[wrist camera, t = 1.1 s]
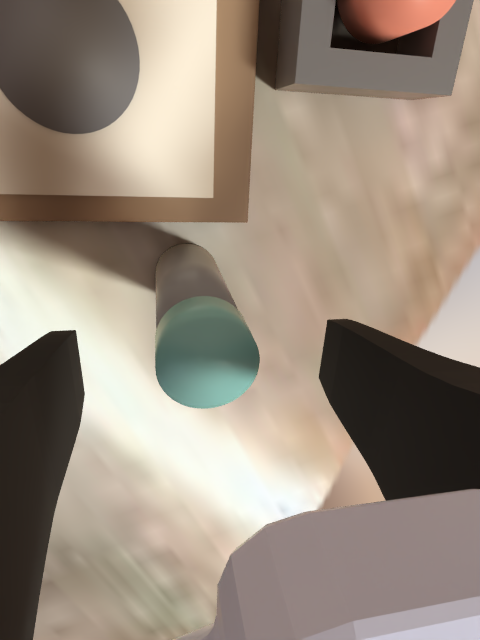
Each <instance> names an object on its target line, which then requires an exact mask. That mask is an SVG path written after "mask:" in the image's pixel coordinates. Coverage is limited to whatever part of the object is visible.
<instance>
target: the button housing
mask: <svg viewBox="0 0 480 640" xmlns="http://www.w3.org/2000/svg"><path fill="white" fill-rule="evenodd" d="M335 2H336V0H281V13H280V27H279V41H278V54H277V68H276V82H275V90H284V91H298V92H311V93H325V94H338V95H352V96H366V97H379V98H393V99H406V100H416V99H425V98H434V97H443V96H451V95H452V90H453V86H454V82H455V78H456V73H457V69H458V65H459V60H460V56H461V52H462V48H463V43H464V39H465V35H466V30H467V26H468V22H469V18H470V13H471V9H472V5H473V0H456V1H455V3H454V4H453V6H452V7H451V8H450V10H449V11H448V12H447V13H446V14H445V15H444V16H443V17H442V18H441V19H439V20H438V21H436V22H435V23H433V24H431V25H429V26H427V27H425V28H422V29H419V30H416V31H414V32H411V33H408V34H406V35H403V36H400V37H399V41H398V47H397V53H396V54H390V53H380V52H369V51H359V50H349V49H339V48H330V45H331V36H332V28H333V19H334V11H335Z"/></svg>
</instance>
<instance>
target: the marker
mask: <svg viewBox="0 0 480 640" xmlns="http://www.w3.org/2000/svg"><path fill="white" fill-rule="evenodd" d="M155 281H156V327H157V330H156V335H155V368H156V376H157V379H158V382H159V384H160V386H161V388H162V389H163V391H164V392H165V393H166V394H167V395H168V396H169V397H170V398H172V399H173V400H175V401H176V402H178V403H180V404H182V405H185V406H188V407H193V408H214V407H218V406H222V405H225V404H227V403H229V402H231V401H233V400H235V399H237V398H238V397H239V396H241V395H242V394H243V393H244V392H245V391H246V390H247V389H248V388H249V387H250V386H251V384H252V383H253V381H254V379H255V377H256V375H257V372H258V369H259V363H260V357H259V351H258V347H257V345H256V343H255V341H254V338H253V336H252V334H251V332H250V330H249V328H248V326H247V324H246V322H245V320H244V318H243V316H242V314H241V313H240V312H239V311H238V309H237V307H236V305H235V302H234V300H233V298H232V296H231V294H230V292H229V290H228V288H227V286H226V283H225V281H224V279H223V277H222V275H221V273H220V271H219V269H218V267H217V264H216V262H215V260H214V258H213V257H212V255H211V254H210V253H209V252H208V251H207V250H205V249H204V248H202V247H200V246H198V245H195V244H187V243H186V244H179V245H176V246H173V247H171V248H169V249H168V250H167V251H165V252H164V253H163V254H162V256H161V257H160V259H159V260H158V262H157V265H156V270H155Z"/></svg>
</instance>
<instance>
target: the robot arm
mask: <svg viewBox="0 0 480 640" xmlns="http://www.w3.org/2000/svg"><path fill="white" fill-rule="evenodd" d="M319 379H320V381H321V384H322V386H323V389H324V391H325V394H326V396H327V398H328V400H329V403H330V405H331V406H332V408H333V410H334V411H335V413H336V415H337V416H338V418H339V419H340V421H341V423H342V424H343V426H344V427H345V429H346V431H347V432H348V434H349V435H350V437H351V439H352V440H353V442H354V443H355V445H356V447H357V448H358V450H359V451H360V453H361V454H362V456H363V458H364V459H365V461H366V463H367V464H368V466H369V468H370V470H371V471H372V473H373V475H374V477H375V479H376V481H377V483H378V485H379V487H380V489H381V492H382V494H383V496H384V498H385V500H386V501H381V502H374V503H366V504H359V505H352V506H345V507H337V508H330V509H323V510H315V511H308V512H304V513H300V514H297V515H294V516H291V517H288V518H285V519H282V520H279V521H276V522H273V523H270V524H267V525H265V526H264V527H263V528H261V529H260V530H259V531H258V532H256V533H255V534H254V535H253V536H251V537H250V538H249V539H248V540H246V541H245V542H244V543H243V544H241V545H240V546H239V547H238V548H236V549H235V550H234V552H233V553H232V554H231V555H230V557H229V560H228V562H227V564H226V567H225V569H224V571H223V574H222V576H221V578H220V581H219V583H218V590H217V615H216V619H215V622H214V623H212V624H209V625H207V626H204V627H202V628H199V629H197V630H194V631H192V632H189V633H187V634H184V635H182V636H179V637H177V638H174V639H172V640H480V368H479V367H476V366H472V365H469V364H465V363H462V362H459V361H456V360H452V359H449V358H446V357H443V356H441V355H438V354H435V353H433V352H430V351H427V350H425V349H422V348H419V347H417V346H414V345H412V344H409V343H407V342H405V341H402V340H400V339H397V338H395V337H393V336H390V335H388V334H386V333H383V332H381V331H379V330H376V329H374V328H371V327H369V326H366V325H364V324H361V323H359V322H356V321H352V320H349V319H334V320H327V327H326V333H325V340H324V346H323V353H322V360H321V366H320V373H319ZM84 395H85V393H84V386H83V378H82V371H81V364H80V357H79V350H78V343H77V336H76V330H70V331H51V332H49V333H47V334H46V335H44V336H42V337H41V338H39V339H38V340H36V341H35V342H34V343H32V344H31V345H29V346H28V347H26V348H25V349H23V350H22V351H20V352H19V353H18V354H16V355H15V356H13V357H12V358H10V359H9V360H7V361H6V362H4V363H3V364H1V365H0V640H33V635H34V628H35V622H36V615H37V608H38V602H39V595H40V589H41V583H42V578H43V572H44V566H45V560H46V554H47V548H48V543H49V538H50V532H51V527H52V522H53V516H54V512H55V508H56V504H57V500H58V496H59V493H60V490H61V486H62V483H63V480H64V477H65V473H66V470H67V467H68V463H69V460H70V457H71V454H72V450H73V447H74V444H75V440H76V437H77V434H78V430H79V427H80V422H81V416H82V409H83V402H84Z"/></svg>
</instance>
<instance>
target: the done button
mask: <svg viewBox="0 0 480 640" xmlns="http://www.w3.org/2000/svg"><path fill="white" fill-rule="evenodd" d="M455 1H456V0H337V3H338V9H339V13H340V17H341V19H342V22H343V24H344V26H345V27H346V29H347V30H348V32H349V33H350V34H351V35H352V36H353V37H355V38H356V39H357V40H359V41H361V42H364V43H367V44H381V43H384V42H387V41H389V40H392V39H395V38H398V37H400V36H403V35H406V34H408V33H411V32H414V31H416V30H419V29H422V28H425V27H427V26H429V25H431V24H433V23H435V22H436V21H438V20H439V19H441V18H442V17H443V16H444V15H445V14H446V13H447V12H448V11H449V10H450V8H451V7H452V6H453V4H454V3H455Z"/></svg>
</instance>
